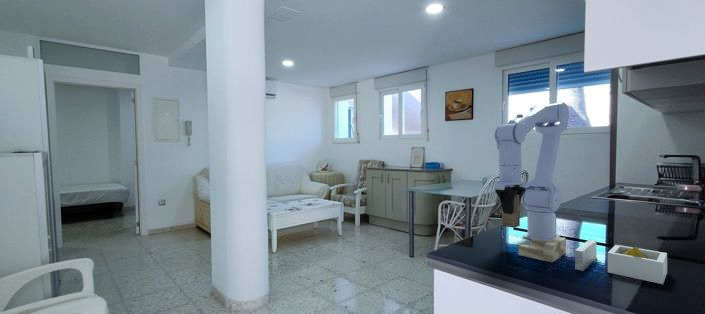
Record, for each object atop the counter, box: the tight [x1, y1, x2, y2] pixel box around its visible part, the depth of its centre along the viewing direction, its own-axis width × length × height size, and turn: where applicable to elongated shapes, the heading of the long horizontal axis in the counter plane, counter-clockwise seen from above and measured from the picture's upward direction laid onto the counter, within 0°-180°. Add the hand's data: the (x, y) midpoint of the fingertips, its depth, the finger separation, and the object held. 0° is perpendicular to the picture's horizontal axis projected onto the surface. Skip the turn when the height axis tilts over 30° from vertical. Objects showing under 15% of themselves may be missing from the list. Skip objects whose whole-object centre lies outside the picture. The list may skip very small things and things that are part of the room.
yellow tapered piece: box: [620, 246, 649, 259], centre depth 71 cm, size 5×5×10 cm
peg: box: [501, 194, 521, 229], centre depth 90 cm, size 4×4×9 cm
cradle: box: [518, 236, 567, 263], centre depth 85 cm, size 11×8×4 cm
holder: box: [607, 244, 668, 285], centre depth 71 cm, size 9×9×4 cm
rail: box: [574, 239, 598, 272], centre depth 77 cm, size 13×2×4 cm, turn 131°
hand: (510, 212), depth 90 cm, fingers closed on peg, 3 cm apart
